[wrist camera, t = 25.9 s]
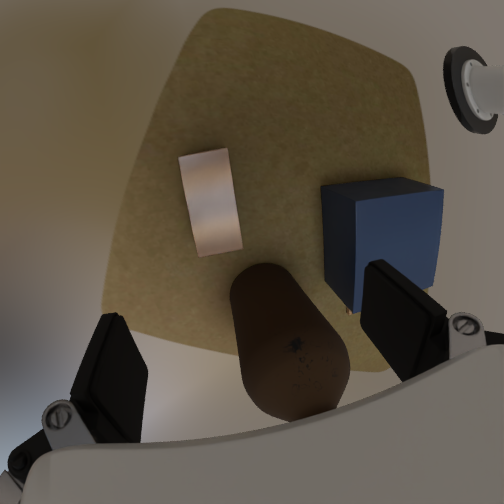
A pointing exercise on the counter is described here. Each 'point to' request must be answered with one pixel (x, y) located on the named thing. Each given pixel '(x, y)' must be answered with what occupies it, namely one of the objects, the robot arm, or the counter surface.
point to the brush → (211, 201)
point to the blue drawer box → (380, 232)
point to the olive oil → (286, 346)
